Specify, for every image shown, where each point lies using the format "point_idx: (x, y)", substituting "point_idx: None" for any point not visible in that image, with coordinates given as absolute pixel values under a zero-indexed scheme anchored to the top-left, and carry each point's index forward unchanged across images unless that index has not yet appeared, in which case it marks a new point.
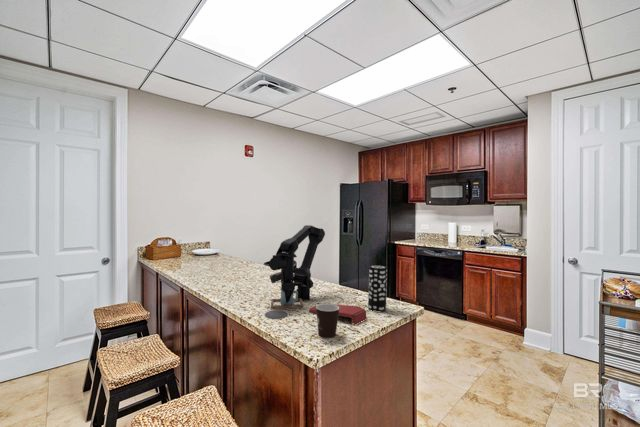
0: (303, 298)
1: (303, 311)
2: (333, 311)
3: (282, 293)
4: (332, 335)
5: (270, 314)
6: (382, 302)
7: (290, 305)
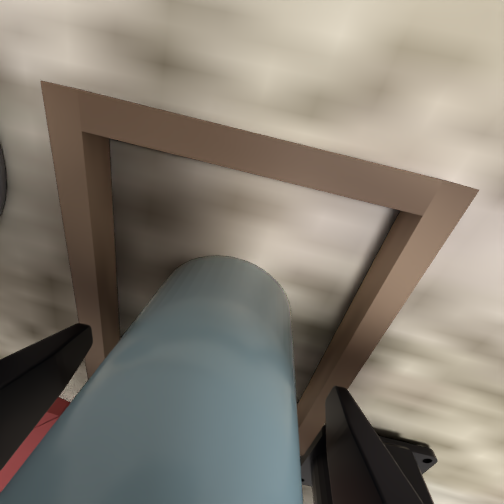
0: (315, 460)
1: None
2: None
3: (74, 416)
4: None
5: None
6: None
7: (95, 329)
